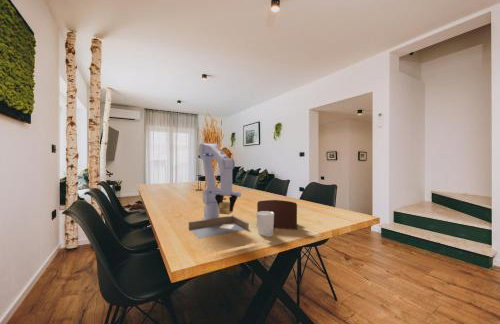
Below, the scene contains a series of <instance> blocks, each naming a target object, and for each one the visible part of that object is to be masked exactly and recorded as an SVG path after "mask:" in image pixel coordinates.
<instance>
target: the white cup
mask: <svg viewBox="0 0 500 324" xmlns="http://www.w3.org/2000/svg"><path fill="white" fill-rule="evenodd" d="M273 226H274V213H273V212H270V211H260V212H257V211H256V227H257V228H256V229H257V234H258V235H260V236H263V237H264V236H266V237H267V238H272V237H273V236H274V228H273Z"/></svg>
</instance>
